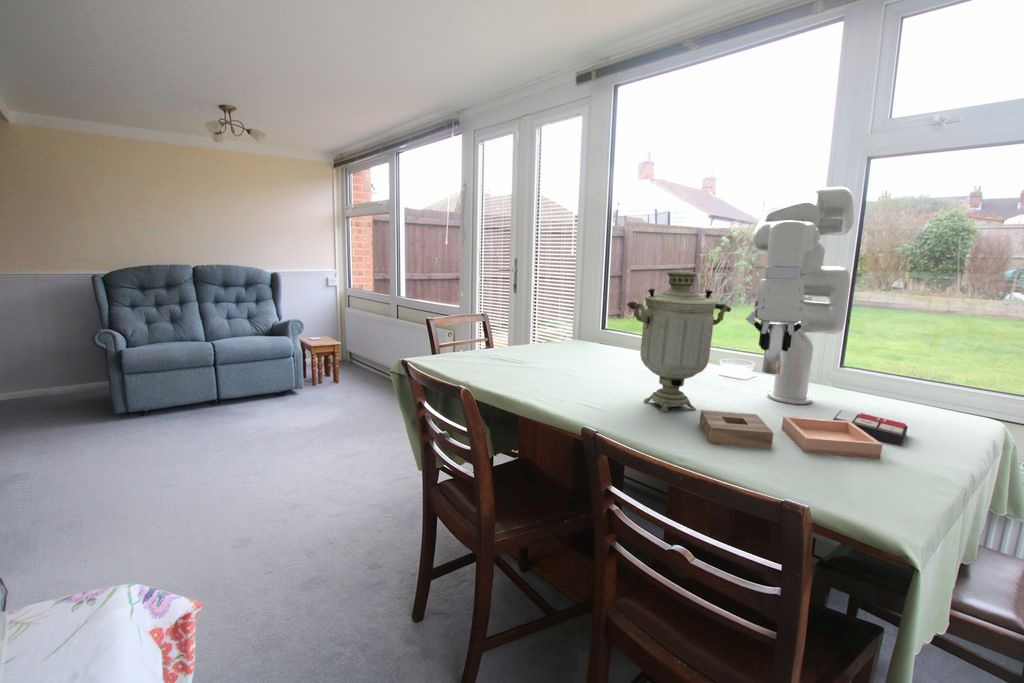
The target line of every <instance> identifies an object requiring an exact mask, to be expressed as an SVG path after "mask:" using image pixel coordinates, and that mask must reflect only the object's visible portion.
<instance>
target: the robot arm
mask: <svg viewBox="0 0 1024 683" xmlns="http://www.w3.org/2000/svg"><path fill="white" fill-rule="evenodd" d="M854 205H855V203H854V196H853V192H851V190H850V189H849V188H847V187H844V186H832V187H831V186H830V187H811V188H810V187H809V188H805V189H802V190H800V191H798V192H797V193H796V194H795V195H794V197H793V198H792V200H791V202H790V203H789V205H786V206H783V207H781V208H779V209H775V210H772V211H770V212H767V213H766V214H764V215H763V216H762V217H761V218H760V220H759V221H758V223H757V224H756V226H755V228H754V229H755V230H754V232H753V237H752V241H753V247H754V248H755V249H756V250H757V251H758V252H762V253H766V262H765V270H764V278H763V279H760V280H759V283H758V286H757V290H756V295H755V299H754V305H753V309H752V311H751V312H750V313H749V314H748V316H746V318H745V320H746V321H747V323H750V325H752V326H754V328H755V329H757V331H758V332H759V338H758V339H759V340H758V346H759V347H760V349H761V350H762V351H764V350H767V346H768V337H769V335H768V334H767V329H768V326H769V323H782V324H786V330H785V338H784V347H783V355H782V363H781V372H780V374H774V375H775V376H774V384H773V389H772V390H769V391H768V392H767V397H768V398H770V399H772V400H775V401H778V402H781V403H784V404H785V403H786V404H792V405H807V404H811V403H812V402H813V397H812V396H810V395H809V394H808V391H809V384H810V375H811V370H812V369H811V368H812V360H813V352H814V346H813V342H812V341H811V340H810V337H808V335H807V334H806V333H812V334H813V333H814V334H823V335H825V334H826V335H836V334H840V333H841V332H842V331H843V328H844V325H845V322H846V315H847V309H848V300H849V295H850V294H849V292H850V286H851V285H850V283H851V278H850V272H849V270H848V269H847V268H845V267H842V266H833V265H831V266H829V265H826V266H824V258H825V248H824V246H823V243H821V241H820V236H844V235H846V234H849V232H850V231H851V229H852V227H853V225H854V220H855V219H854V218H855V209H854V208H855V207H854ZM805 297H808V298H810V297H811V298H823V299H824V298H825V299H828V300H829V302H827V301H826V302H823V301H812V300H805ZM755 318H756V319H758V320H759V321H760V322H758V321H757V320H756V319H755Z"/></svg>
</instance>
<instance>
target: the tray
mask: <svg viewBox="0 0 1024 683" xmlns="http://www.w3.org/2000/svg"><path fill="white" fill-rule="evenodd" d="M781 422H782V424H781V430H782V431H783V432H784V433H785V434H786V435H787V437H789V438H790V440H791V441H793V442H794V444H796V445H797V447H798V448H799V449H801V451H802V452H803V453H811V454H822V455H831V454H832V455H831V456H842V457H844V456H845V457H854V456H855V457H854V458H857V457H858V458H867V459H878V460H880V459H881V456H882V449H883V443H882V442H880V441H877V440H876V439H874V438H873V437H871V436H870V435H869V434H867V433H866V432H864V431H863V430H861V429H860V428H859V427H857V426H856V425H854V424H853V423H851V422H850V421H838V420H833V419H824V418H821V419H820V418H810V417H808V418H807V417H798V416H797V417H796V416H795V417H794V416H784V415H783V416H782V421H781Z"/></svg>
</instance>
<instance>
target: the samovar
mask: <svg viewBox="0 0 1024 683" xmlns="http://www.w3.org/2000/svg"><path fill="white" fill-rule="evenodd" d="M665 274H666V275H667V276H668V277H669V279H668V284H669V285H670V288H666V289H664V290H663V291H662V292H657V293H655V290H656V288H649V289H648V290H647V291H648V293H649V294H646V295H644V299H645V300H644V302H645V305H646V306H644V305H643V304H642V303H637V302H635V301H628V303H627V304H626V305H627V307H629V308H631V309H632V310H633V316H634V317H635V319H636V320H637V321H638V322H641V323H643V325H642V336H641V344H640V345H641V346H640V354H639V355H640V359H641V361H642V363H643V366H645V367H646V368H647V369H648V370H649V371H650V372H652V374H655V375H656V376H658V377H659V380H658V382H659V384H660V385H662V387H661V388H659V389H657V390H655V391H654V392H652V394H650V396H649V397H645V398H644V400H643V403H647V402H651V400H652V402H654V403H657V404H659V405H660V406H661V408H660V412H661V413H663V414H664V413H669V409H670V408H672V407H673V408H674V407H683V406H687V407H688V408H690V409H691V410H692V411H697V408H696V407H695V406H694V405H692V404H691V402H690V399H689V398H688V396H687V395H685V392H683V391H681V390H680V388H681V387H683V386H684V385H685V380H686V379H690V378H693V377H695V376H696V375H697V374H699V373H702V372H703V371H704V370H705V369H706V368H707V367H708V364H709V362H710V355H711V346H712V338H713V329H714V326H717V325H718V324H719V323H720V322H722V321H723V320H724V315H725V313H726V312H727V313H729V312H731V311H732V308H731V307H730V306H727V304H724V303H723V304H722V303H718V302H717V300H715V299H714V298H712V297H711V295H712V294H713V293H714V291H712V290H711V289H705V292H706V296H703V295H700V294H699V292H697V291H695V290H693V289H692V287H693V285H694V283H695V278H696V276H698V275H699V273H698V272H689V271H666V272H665ZM710 297H711V298H710ZM645 307H646V308H645ZM715 310H720V311H719V312H718V313H717V318H716V319H715V316H714V312H715Z"/></svg>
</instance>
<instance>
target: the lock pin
mask: <svg viewBox="0 0 1024 683" xmlns="http://www.w3.org/2000/svg"><path fill="white" fill-rule="evenodd" d="M785 330H786V324H782V323H780V322H770V323H769V326H768V329H767V334H768V335H769V337H768V346H767V350H763V351H764V352H763V359H762V360H763V361H762V368H761V369H762V370H761V372H763V373H765V374H769V375H775V374H780V372H781V363H782V355H783V347H784V338H785Z"/></svg>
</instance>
